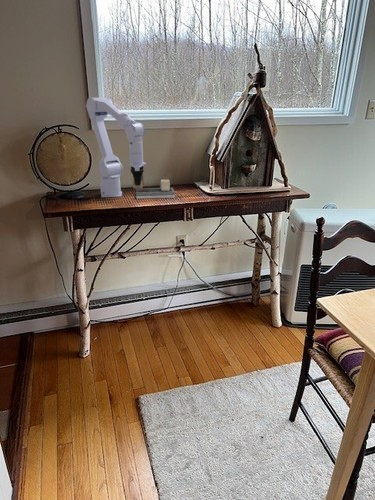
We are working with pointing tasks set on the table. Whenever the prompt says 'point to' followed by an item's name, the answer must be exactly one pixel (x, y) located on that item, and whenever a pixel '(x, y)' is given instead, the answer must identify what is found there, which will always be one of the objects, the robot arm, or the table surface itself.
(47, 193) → the table surface
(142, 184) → the finger
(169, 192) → the rail
